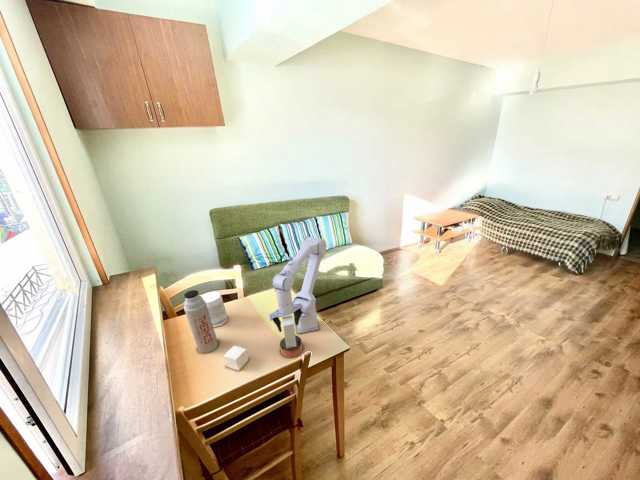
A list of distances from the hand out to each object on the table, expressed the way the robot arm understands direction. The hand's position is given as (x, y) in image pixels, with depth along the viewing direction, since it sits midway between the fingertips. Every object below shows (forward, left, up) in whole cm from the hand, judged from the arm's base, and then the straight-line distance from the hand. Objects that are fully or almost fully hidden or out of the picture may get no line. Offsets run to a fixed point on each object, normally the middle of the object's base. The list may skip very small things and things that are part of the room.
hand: (288, 327), depth 119 cm
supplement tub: (+33, -26, -9) cm, 43 cm away
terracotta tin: (0, +4, -9) cm, 10 cm away
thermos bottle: (+35, -9, -9) cm, 37 cm away
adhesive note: (+22, +5, -9) cm, 24 cm away
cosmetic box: (0, +4, -5) cm, 7 cm away
